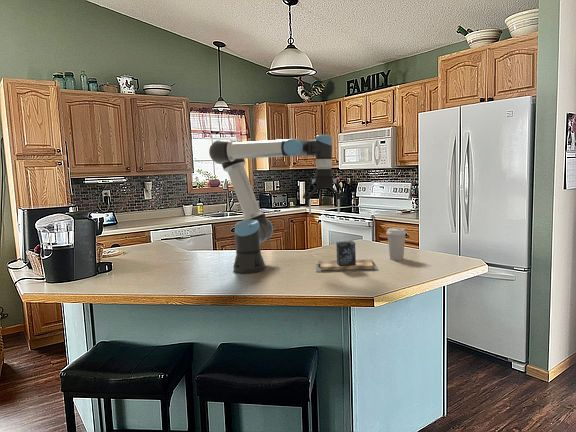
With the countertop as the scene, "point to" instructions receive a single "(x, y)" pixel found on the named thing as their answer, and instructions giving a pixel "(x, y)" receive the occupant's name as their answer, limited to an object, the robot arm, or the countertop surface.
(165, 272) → the countertop surface
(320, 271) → the underlay
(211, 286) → the countertop surface
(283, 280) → the countertop surface
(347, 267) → the plank
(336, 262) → the floor strip
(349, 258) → the box
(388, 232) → the coffee cup
